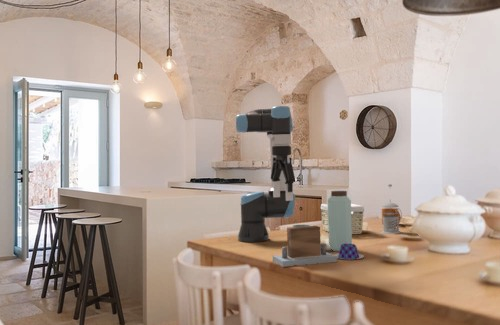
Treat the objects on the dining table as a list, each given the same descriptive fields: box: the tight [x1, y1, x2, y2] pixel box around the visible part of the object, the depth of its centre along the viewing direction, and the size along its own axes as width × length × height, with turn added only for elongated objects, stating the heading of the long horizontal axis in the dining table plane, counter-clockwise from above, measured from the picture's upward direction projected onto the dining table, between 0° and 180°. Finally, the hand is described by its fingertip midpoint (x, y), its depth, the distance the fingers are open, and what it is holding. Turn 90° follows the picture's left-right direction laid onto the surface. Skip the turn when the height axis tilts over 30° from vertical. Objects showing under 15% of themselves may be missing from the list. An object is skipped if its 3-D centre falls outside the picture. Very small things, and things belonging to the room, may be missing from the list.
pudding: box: [334, 243, 365, 261], centre depth 187 cm, size 12×12×5 cm
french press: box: [381, 183, 403, 235], centre depth 246 cm, size 10×12×25 cm
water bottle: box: [327, 190, 353, 252], centre depth 203 cm, size 10×10×25 cm
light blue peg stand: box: [272, 243, 338, 268], centre depth 182 cm, size 11×22×6 cm, turn 106°
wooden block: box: [286, 225, 322, 258], centre depth 182 cm, size 4×12×11 cm, turn 106°
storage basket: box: [320, 203, 365, 235], centre depth 251 cm, size 24×16×15 cm
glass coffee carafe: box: [381, 207, 402, 225], centre depth 274 cm, size 9×12×9 cm
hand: (282, 198), depth 188 cm, fingers open, 13 cm apart
